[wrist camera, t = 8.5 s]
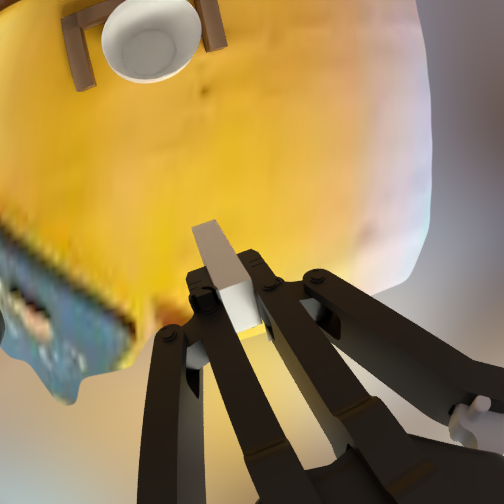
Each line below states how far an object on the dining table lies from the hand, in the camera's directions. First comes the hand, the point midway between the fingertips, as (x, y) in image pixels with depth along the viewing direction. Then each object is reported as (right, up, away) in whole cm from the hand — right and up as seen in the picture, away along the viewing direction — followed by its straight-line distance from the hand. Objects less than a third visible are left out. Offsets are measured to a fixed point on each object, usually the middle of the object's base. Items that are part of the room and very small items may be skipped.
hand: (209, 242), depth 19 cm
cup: (-10, +23, +11) cm, 28 cm away
